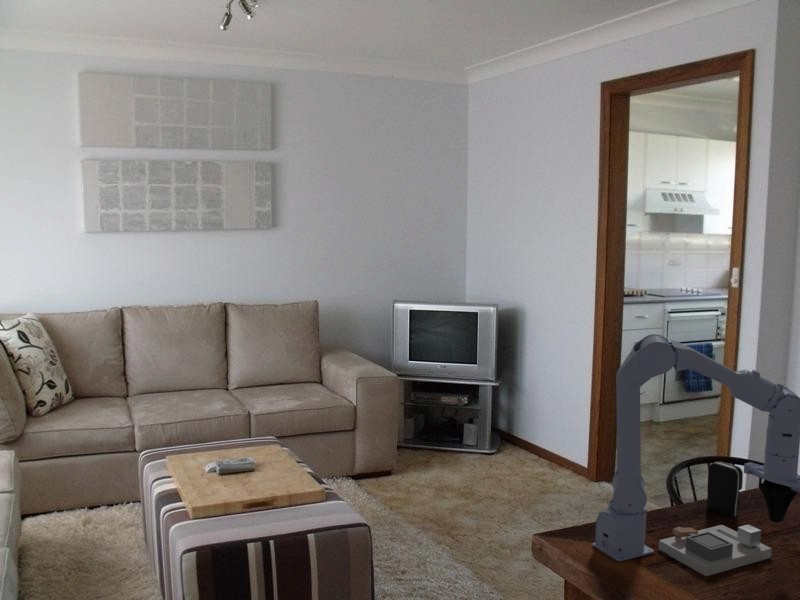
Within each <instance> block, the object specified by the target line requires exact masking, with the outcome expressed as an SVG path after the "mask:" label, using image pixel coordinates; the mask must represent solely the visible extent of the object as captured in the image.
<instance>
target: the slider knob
mask: <svg viewBox="0 0 800 600" xmlns="http://www.w3.org/2000/svg"><path fill="white" fill-rule="evenodd" d="M737 532H738V534H737V542H739V543H742V544H744V545H746V546H748V547H753V546H757V545H760V543H761V536H762V530H761V529H759V528H757V527H755V526H753V525H751V524H745V525H740V526H738V527H737Z"/></svg>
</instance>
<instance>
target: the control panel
mask: <svg viewBox="0 0 800 600" xmlns="http://www.w3.org/2000/svg"><path fill="white" fill-rule="evenodd" d="M675 528H683V527H682V526H676V527H675ZM697 531H698V534H696V535H695V534H694V533H692V534H689V536H688V537H678V536H677V535H675V534H674V536H671V537H667V538H663V539H659V541H658V550H659V551H660V550H661V551H660V552H662V551H663V552H662V553H664V552H665V553H664V554H666V555H667V554H668V556H669V557H671V558H673V559H675V560H676V561H678V562H679V563H682V564H684V565H685V566H687V567H689V568H690V569H693V570H694V571H696V572H697V573H699V574H701V575H703V576H705V577H708V576H709V577H710V576H712V575H716V574H719V573H722V572H727V571H730V570H733V569H736V568H739V567H744V566H746V565H750V564H753V563H756V562H761V561H765V560H768V559H771V558H772V547H769V546H768V545H765V544H764V543H762V542H760V545H757V546H753V547H748V546H746V545H744V544H742V543H739V542H737V534H738V531H737V530H734V529H733V528H730V527H728V526H726V525H723V524H719V525H715V526H712V527H707V528H703V529H700V530H697ZM707 534H709V535H711V536H713V537H715V538H717V539H719V540H721V541H723V542H725V543H727V544H725V545H721V546H718V547H714V548H709V547H707V546H705V545H703V544H702V543H700V542H698V541H696V540H694V539H692V538H695V537H699V536H703V535H707Z"/></svg>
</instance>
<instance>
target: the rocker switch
mask: <svg viewBox="0 0 800 600" xmlns="http://www.w3.org/2000/svg"><path fill="white" fill-rule="evenodd" d="M698 531H699V530H697V529H695V528H693V527H682V528H676V527H675V528H673V529H672V534H673V535H674V536H675V535H677V536H678V537H688V536H689V534H692V533H694V534H695V535H696V534H698Z"/></svg>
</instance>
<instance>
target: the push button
mask: <svg viewBox="0 0 800 600" xmlns="http://www.w3.org/2000/svg"><path fill="white" fill-rule="evenodd" d="M692 539H694V540H696V541H698V542H700V543H702V544H703V545H705V546H707V547H709V548H714V547H718V546H721V545H725V544H727V543H725V542H723V541H721V540H719V539H717V538H715V537H713V536H711V535H709V534H707V535H703V536H699V537H695V538H692Z"/></svg>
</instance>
